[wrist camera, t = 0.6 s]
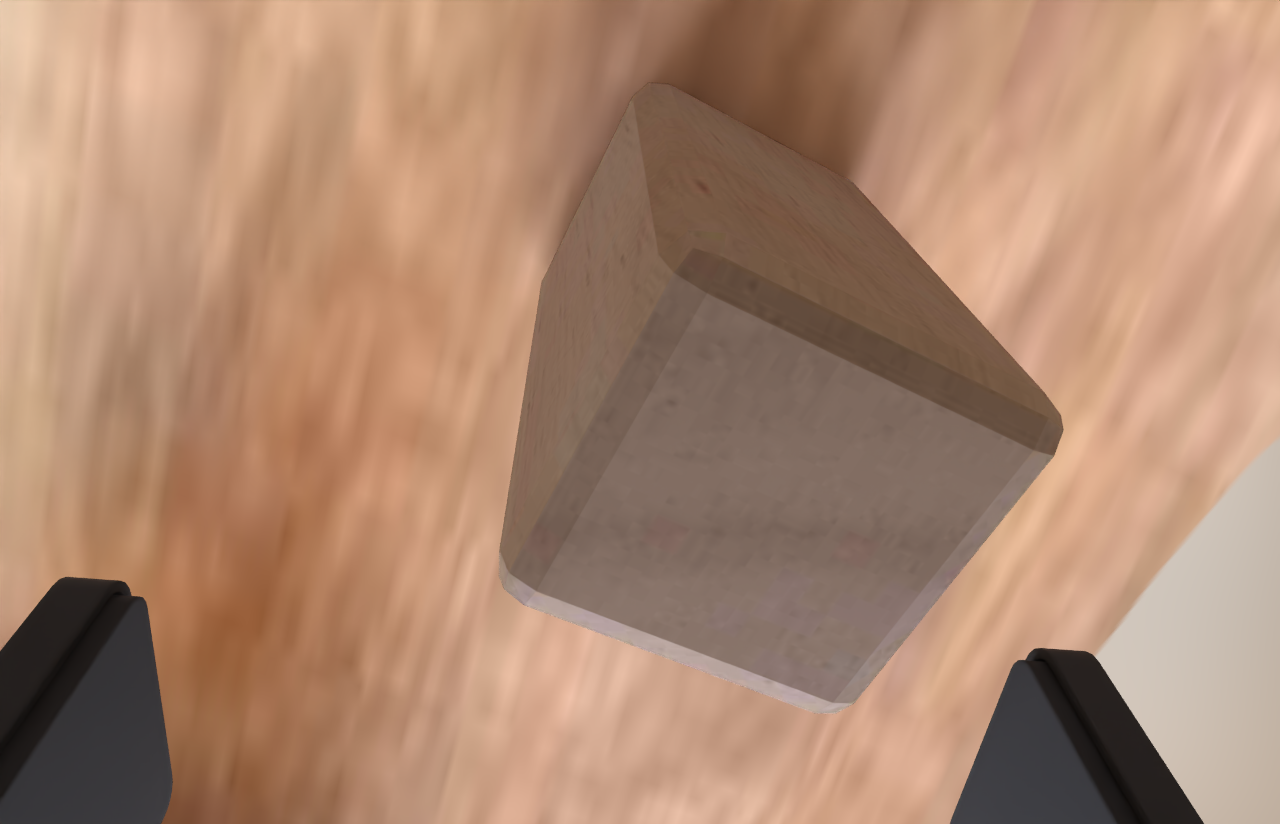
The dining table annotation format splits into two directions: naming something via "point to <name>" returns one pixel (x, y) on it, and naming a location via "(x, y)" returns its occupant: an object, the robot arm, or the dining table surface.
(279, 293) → the dining table surface
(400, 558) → the dining table surface
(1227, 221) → the dining table surface
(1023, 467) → the block
